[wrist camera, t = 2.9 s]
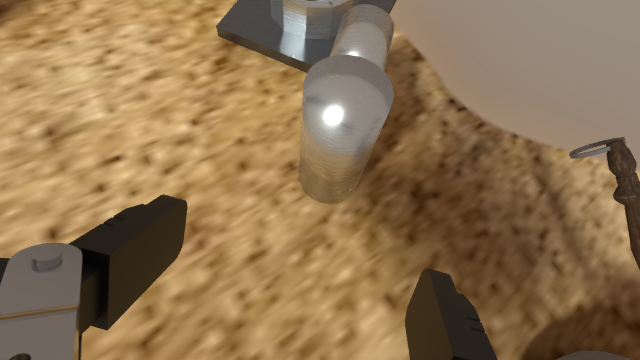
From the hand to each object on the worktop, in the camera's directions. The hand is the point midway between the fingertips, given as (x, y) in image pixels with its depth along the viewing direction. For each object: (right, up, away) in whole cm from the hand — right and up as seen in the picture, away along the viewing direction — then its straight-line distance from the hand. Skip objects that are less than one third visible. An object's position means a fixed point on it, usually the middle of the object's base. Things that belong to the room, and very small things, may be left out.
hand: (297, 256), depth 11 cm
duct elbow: (+2, +5, +19) cm, 19 cm away
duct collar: (0, +20, +25) cm, 32 cm away
